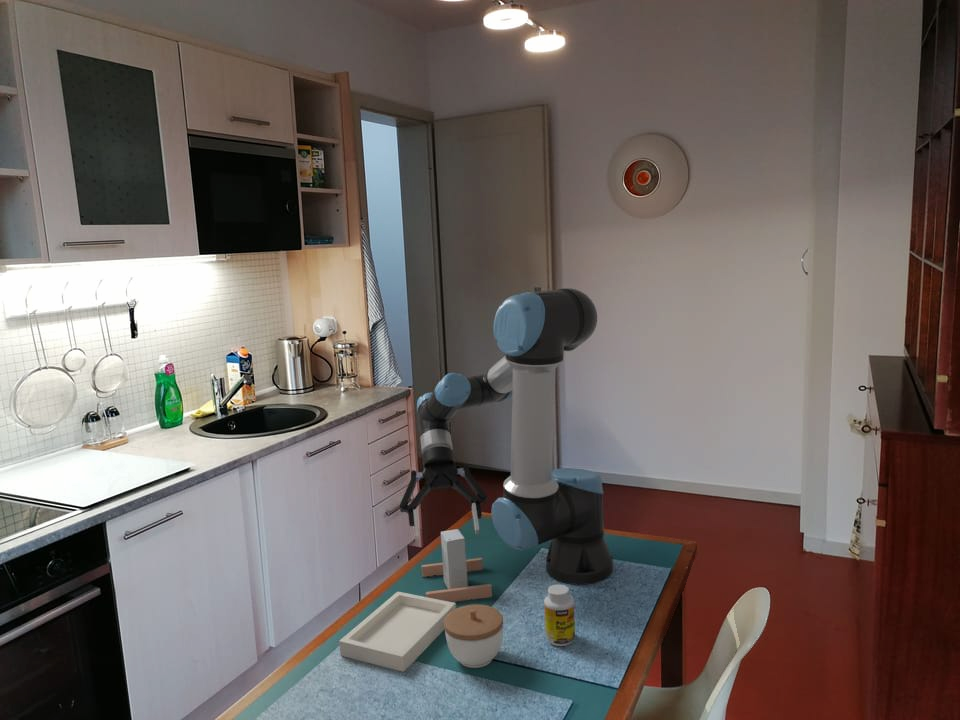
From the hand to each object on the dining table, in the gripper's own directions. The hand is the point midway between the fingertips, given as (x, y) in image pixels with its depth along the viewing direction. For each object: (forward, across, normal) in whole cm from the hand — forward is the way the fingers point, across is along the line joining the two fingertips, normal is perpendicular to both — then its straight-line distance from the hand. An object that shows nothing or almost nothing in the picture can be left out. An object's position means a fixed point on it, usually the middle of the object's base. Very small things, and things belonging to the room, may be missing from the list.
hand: (447, 535), depth 160 cm
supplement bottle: (+29, -18, +14) cm, 37 cm away
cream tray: (+22, +12, +8) cm, 27 cm away
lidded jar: (+30, -1, +16) cm, 34 cm away
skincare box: (+10, -1, -4) cm, 11 cm away
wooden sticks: (+10, -1, -4) cm, 11 cm away
